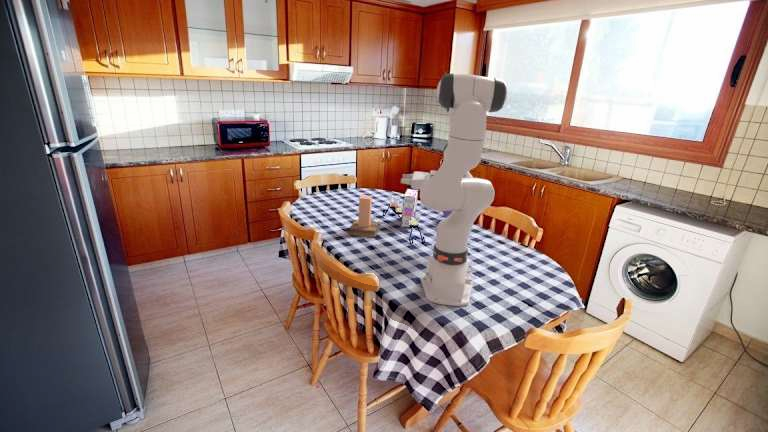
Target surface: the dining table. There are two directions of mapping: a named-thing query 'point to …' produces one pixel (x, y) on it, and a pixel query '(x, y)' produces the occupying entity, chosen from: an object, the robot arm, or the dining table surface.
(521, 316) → the dining table surface
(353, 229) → the walnut riser
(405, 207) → the candy box
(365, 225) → the terracotta block
